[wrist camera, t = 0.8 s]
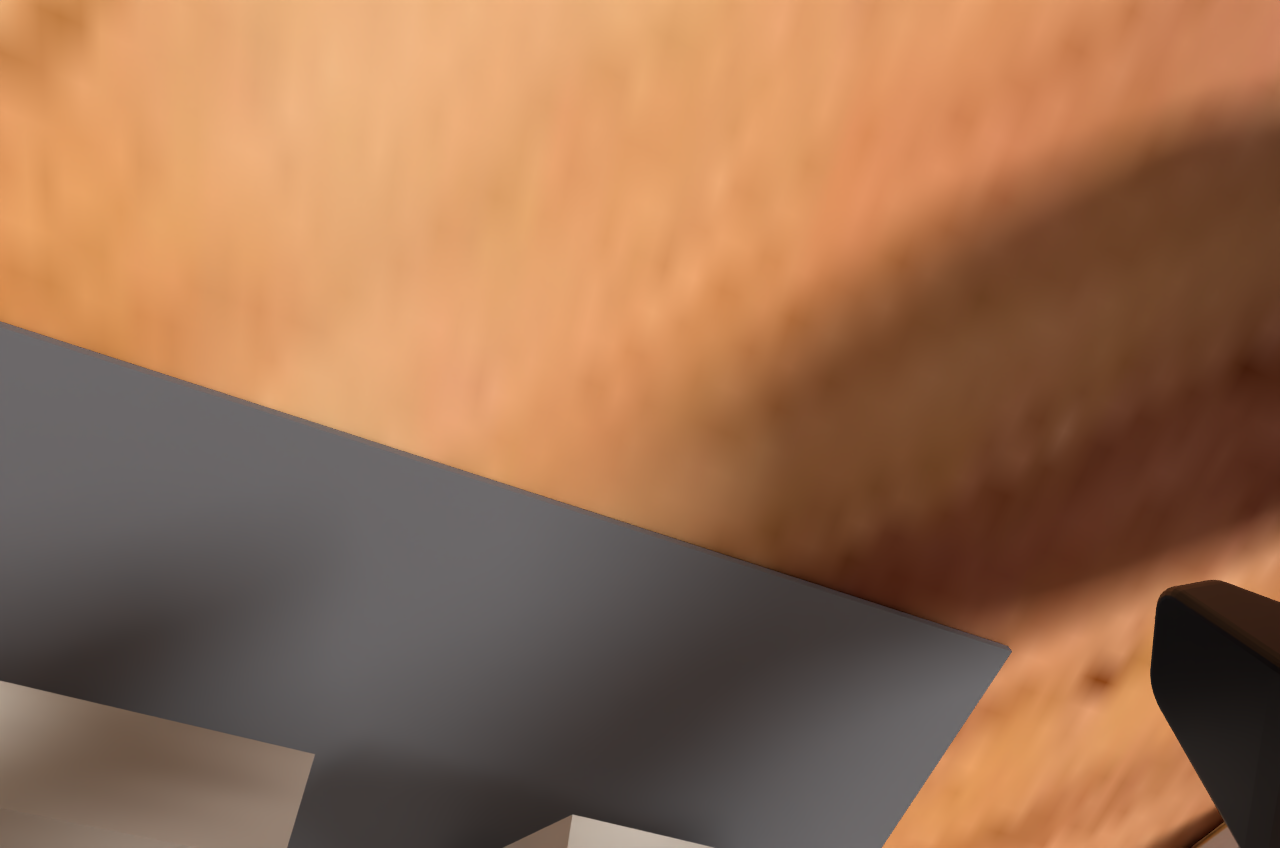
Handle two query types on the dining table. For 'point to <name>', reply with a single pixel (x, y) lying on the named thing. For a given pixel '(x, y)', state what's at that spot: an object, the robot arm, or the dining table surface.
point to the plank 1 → (137, 779)
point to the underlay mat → (443, 630)
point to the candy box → (1218, 839)
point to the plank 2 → (596, 836)
